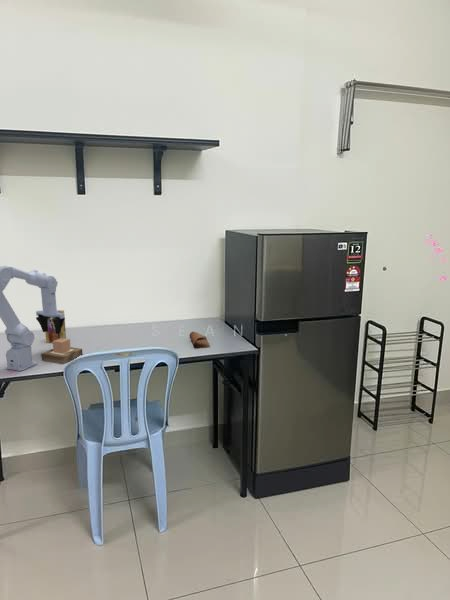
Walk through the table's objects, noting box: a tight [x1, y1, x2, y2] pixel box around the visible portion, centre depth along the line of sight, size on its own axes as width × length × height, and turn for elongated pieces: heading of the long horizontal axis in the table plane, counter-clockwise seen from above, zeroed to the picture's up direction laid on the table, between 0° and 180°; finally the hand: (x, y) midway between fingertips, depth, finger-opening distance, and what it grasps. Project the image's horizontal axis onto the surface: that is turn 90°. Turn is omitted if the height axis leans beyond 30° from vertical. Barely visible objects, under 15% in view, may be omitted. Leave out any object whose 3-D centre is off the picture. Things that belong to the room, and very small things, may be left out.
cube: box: [52, 338, 71, 354], centre depth 194 cm, size 5×5×5 cm
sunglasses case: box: [189, 331, 211, 350], centre depth 216 cm, size 18×7×7 cm
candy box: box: [44, 309, 67, 344], centre depth 217 cm, size 9×4×15 cm, turn 96°
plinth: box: [40, 346, 84, 365], centre depth 195 cm, size 12×12×3 cm
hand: (51, 332), depth 198 cm, fingers open, 7 cm apart
